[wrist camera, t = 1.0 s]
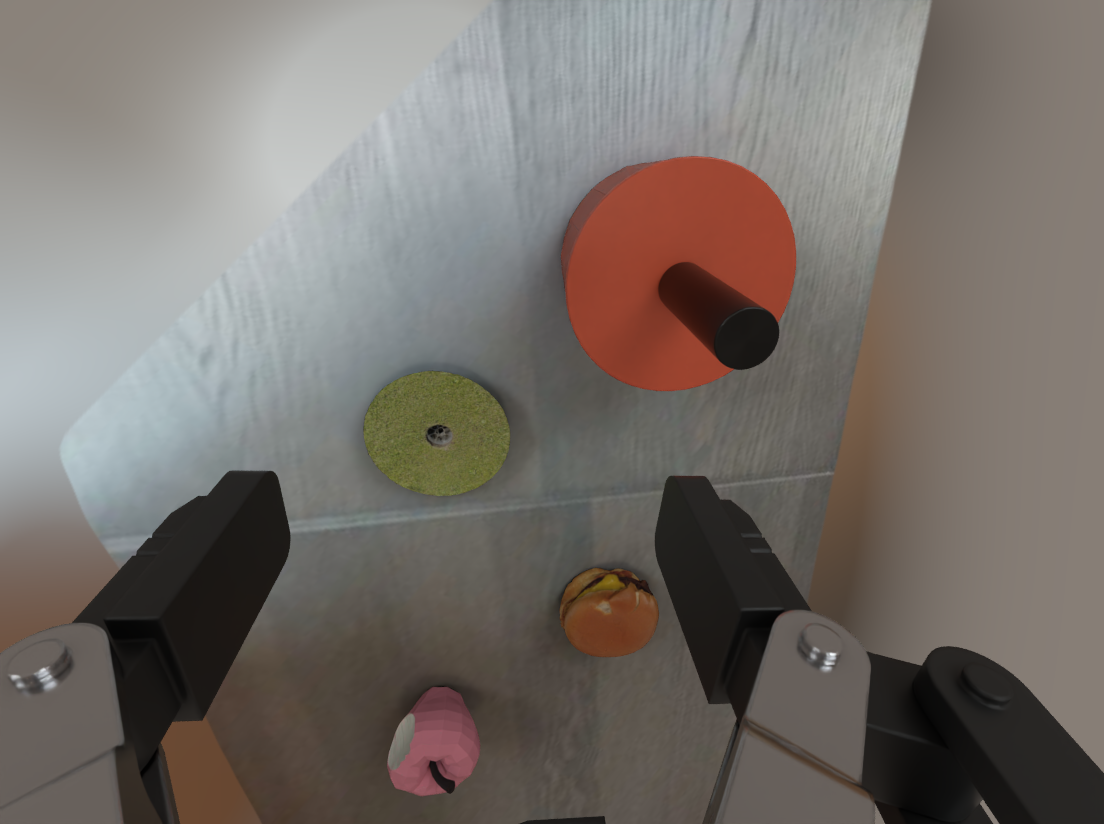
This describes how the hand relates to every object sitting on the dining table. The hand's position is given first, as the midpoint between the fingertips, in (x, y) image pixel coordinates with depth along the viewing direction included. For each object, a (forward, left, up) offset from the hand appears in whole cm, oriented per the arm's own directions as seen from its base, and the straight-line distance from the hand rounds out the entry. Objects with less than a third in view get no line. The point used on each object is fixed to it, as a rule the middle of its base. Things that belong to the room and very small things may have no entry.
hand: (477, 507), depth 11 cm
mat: (+4, -14, -28) cm, 32 cm away
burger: (+28, -22, -28) cm, 45 cm away
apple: (+22, -44, -28) cm, 57 cm away
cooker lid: (+9, +6, -21) cm, 23 cm away
